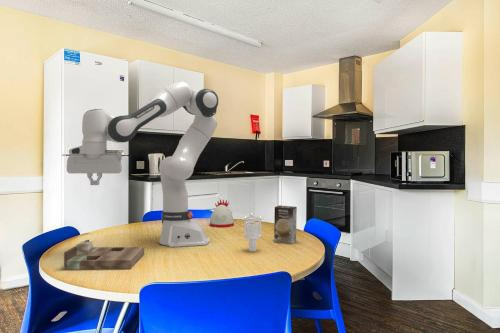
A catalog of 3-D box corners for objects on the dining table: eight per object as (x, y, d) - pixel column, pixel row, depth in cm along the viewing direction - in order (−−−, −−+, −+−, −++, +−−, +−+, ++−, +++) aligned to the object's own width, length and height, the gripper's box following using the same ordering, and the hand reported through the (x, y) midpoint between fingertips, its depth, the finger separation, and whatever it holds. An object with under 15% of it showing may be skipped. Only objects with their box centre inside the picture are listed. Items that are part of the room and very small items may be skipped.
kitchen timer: (233, 227, 188) (233, 200, 188) (208, 227, 188) (208, 200, 188) (234, 223, 202) (234, 198, 202) (211, 223, 202) (211, 197, 202)
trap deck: (144, 254, 133) (144, 239, 133) (130, 269, 115) (130, 251, 115) (86, 255, 132) (86, 239, 132) (64, 270, 114) (64, 252, 114)
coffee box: (273, 242, 155) (273, 206, 155) (278, 239, 161) (278, 205, 160) (292, 244, 151) (292, 208, 151) (296, 241, 157) (297, 206, 156)
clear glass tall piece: (259, 248, 144) (259, 212, 144) (262, 252, 137) (262, 215, 137) (242, 248, 143) (243, 213, 142) (245, 253, 136) (245, 215, 136)
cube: (92, 252, 125) (92, 241, 125) (88, 255, 121) (88, 244, 121) (81, 252, 125) (81, 241, 125) (76, 255, 121) (76, 244, 121)
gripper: (123, 150, 139) (124, 184, 139) (71, 150, 137) (71, 184, 137) (119, 150, 132) (119, 185, 133) (64, 149, 131) (64, 185, 131)
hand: (94, 185), depth 135 cm, fingers closed
